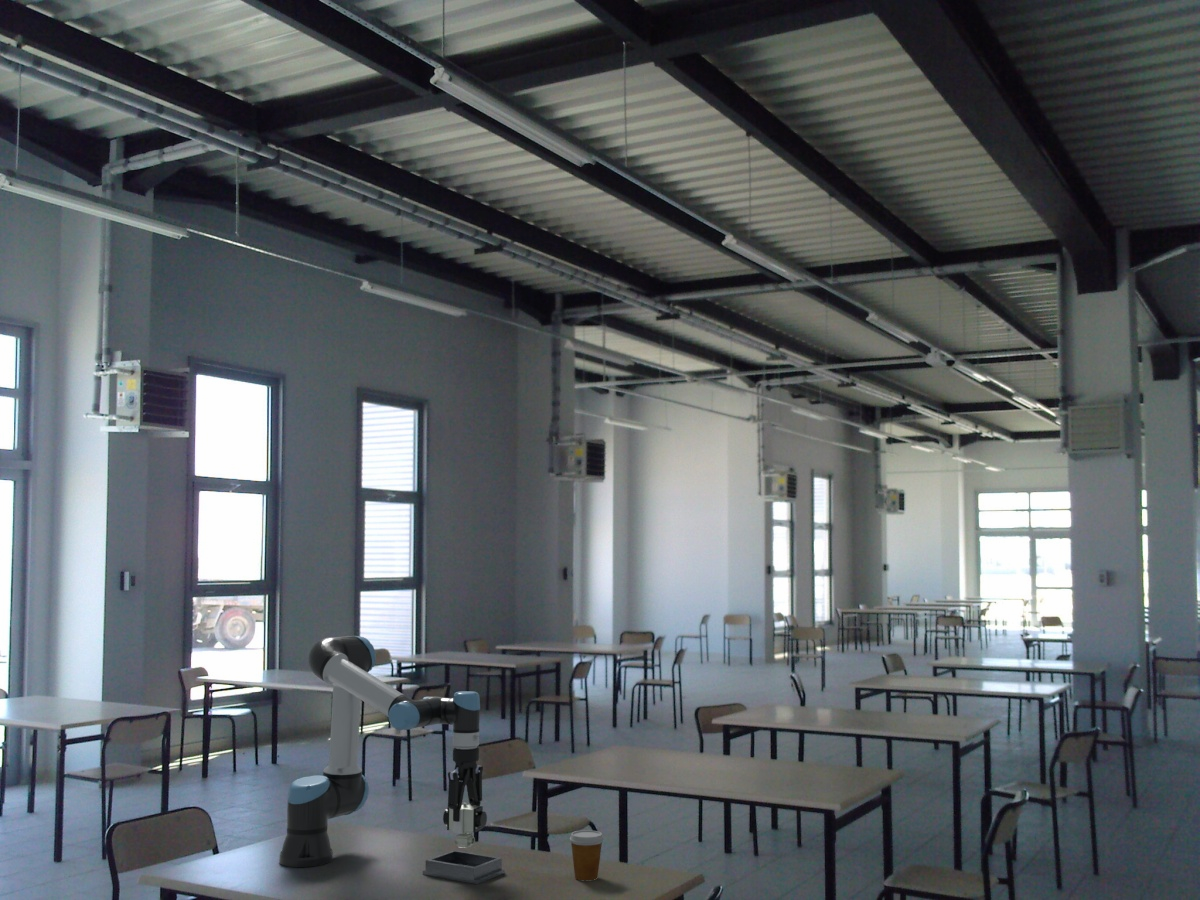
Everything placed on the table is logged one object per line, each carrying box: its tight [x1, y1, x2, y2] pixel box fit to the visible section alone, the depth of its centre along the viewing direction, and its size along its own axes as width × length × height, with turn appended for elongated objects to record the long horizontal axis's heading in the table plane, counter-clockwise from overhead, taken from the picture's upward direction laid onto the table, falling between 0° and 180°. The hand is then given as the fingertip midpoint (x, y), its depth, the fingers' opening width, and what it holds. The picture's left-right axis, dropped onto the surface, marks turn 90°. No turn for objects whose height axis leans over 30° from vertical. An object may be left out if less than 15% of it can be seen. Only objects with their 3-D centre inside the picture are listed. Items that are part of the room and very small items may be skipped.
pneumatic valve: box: [442, 802, 488, 849], centre depth 304 cm, size 6×12×12 cm, turn 70°
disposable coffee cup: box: [569, 829, 604, 881], centre depth 299 cm, size 10×10×12 cm
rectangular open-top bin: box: [422, 849, 505, 885], centre depth 302 cm, size 19×13×4 cm
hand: (464, 830), depth 303 cm, fingers closed on pneumatic valve, 6 cm apart
